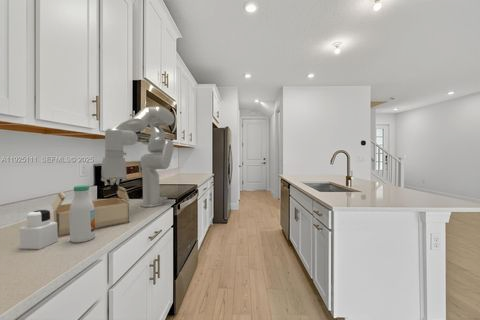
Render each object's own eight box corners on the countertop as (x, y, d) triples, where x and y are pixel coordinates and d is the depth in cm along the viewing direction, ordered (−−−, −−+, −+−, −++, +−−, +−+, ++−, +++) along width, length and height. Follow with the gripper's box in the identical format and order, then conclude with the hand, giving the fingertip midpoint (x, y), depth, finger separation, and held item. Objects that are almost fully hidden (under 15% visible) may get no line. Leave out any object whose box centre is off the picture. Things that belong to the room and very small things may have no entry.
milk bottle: (85, 243, 80) (84, 187, 79) (64, 243, 80) (62, 187, 79) (99, 235, 88) (98, 184, 87) (80, 235, 88) (78, 184, 87)
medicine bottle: (39, 240, 82) (38, 208, 82) (58, 241, 82) (57, 208, 82) (19, 249, 75) (18, 213, 75) (39, 249, 75) (38, 213, 75)
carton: (118, 214, 118) (117, 197, 118) (129, 222, 103) (129, 203, 103) (53, 225, 100) (53, 205, 100) (57, 237, 86) (56, 213, 86)
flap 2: (119, 196, 117) (115, 184, 116) (129, 201, 105) (125, 188, 103) (118, 196, 117) (114, 185, 115) (128, 201, 104) (123, 189, 103)
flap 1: (53, 205, 99) (62, 191, 101) (55, 212, 87) (65, 196, 89) (51, 204, 99) (60, 191, 101) (53, 211, 86) (63, 196, 88)
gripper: (128, 155, 115) (128, 190, 115) (94, 154, 106) (94, 193, 106) (133, 154, 110) (133, 192, 110) (97, 154, 100) (97, 195, 100)
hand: (114, 192), depth 108 cm, fingers closed
